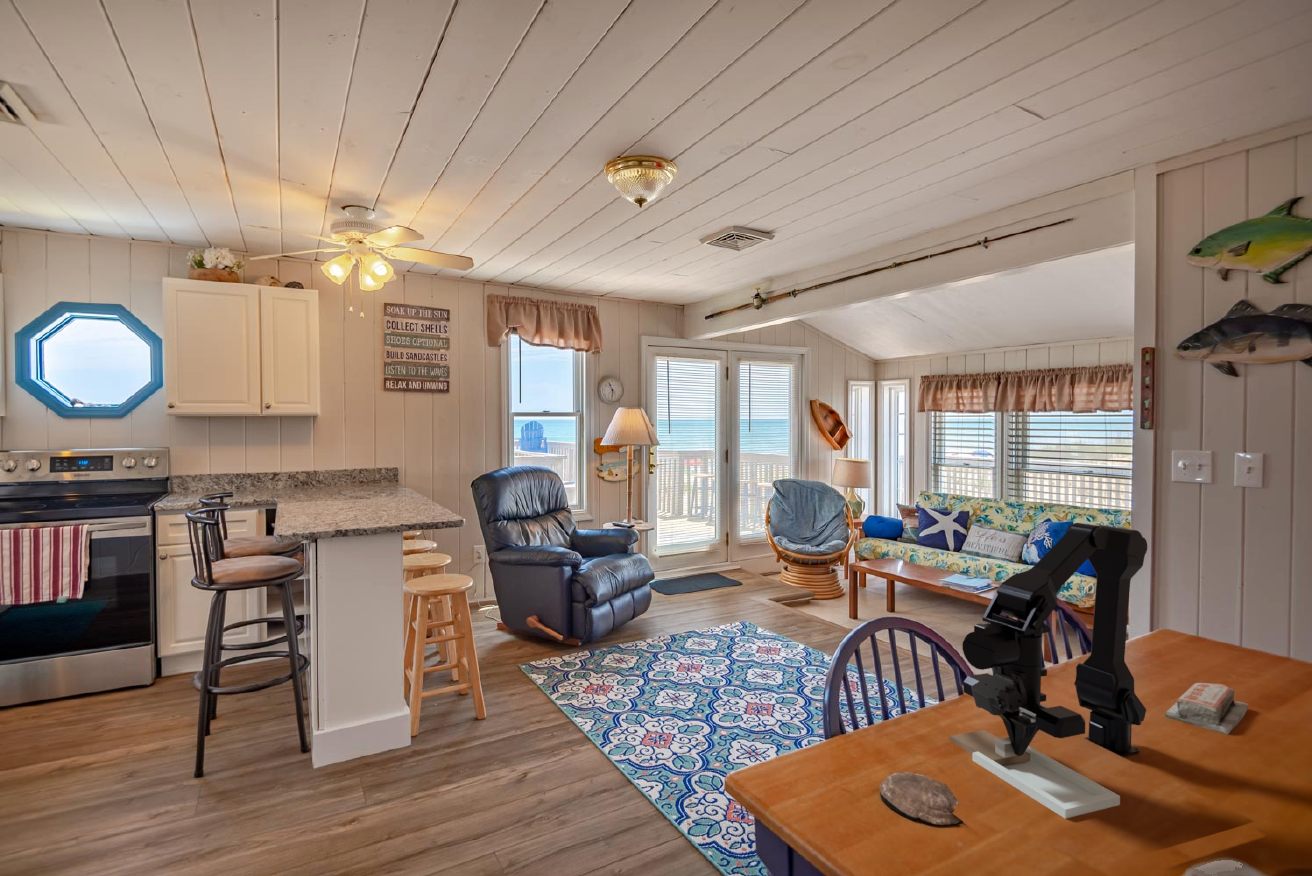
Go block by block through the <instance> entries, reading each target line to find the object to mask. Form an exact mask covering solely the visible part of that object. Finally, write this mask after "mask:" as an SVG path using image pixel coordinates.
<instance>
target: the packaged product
mask: <svg viewBox="0 0 1312 876" xmlns="http://www.w3.org/2000/svg"><path fill="white" fill-rule="evenodd" d="M1234 689H1235V688H1234ZM1234 689H1233V688H1231V687H1229V686H1227V685H1226V684H1221V683H1210V682H1209V683H1208V682H1195V683H1193V684H1192V685H1191V686H1190V687H1189V688H1188V689H1186V691H1185V692H1183V694H1182V695H1180V696H1179V697H1178V698H1177V699H1176V702H1175V703H1174V704H1173V705H1171V707H1170V708H1169V709H1168V710H1167V711H1166V712H1165V713H1164V716H1165V718H1169V719H1172V720H1176V721H1179V722H1182V723H1186V724H1189V725H1193V726H1196V727H1200V728H1203V729H1207V730H1210V731H1214V732H1217V733H1220V734H1224V735H1227V734H1228V735H1230V733H1231V732H1232V730H1233V729H1235V728H1236V727H1237V725H1238V724H1239V723H1240V722H1241V721H1242V719H1243V718H1244V717H1245V715H1246V713H1247V711H1248V708H1249V707H1248V706H1249V703H1246V702H1242V701H1235V700H1234V697H1235V690H1234Z"/></svg>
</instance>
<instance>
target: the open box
mask: <svg viewBox="0 0 1312 876" xmlns="http://www.w3.org/2000/svg"><path fill="white" fill-rule="evenodd" d="M1026 752H1028V753H1030V761H1027V762H1021V763H1016V764H1010V765H1005V766H1001V765H1000V764H998V763H996V762H995V761H993V760H992V759H990V758H988V757H987V756H985V755H983V754H982V753H980V752H978V751H977V752H973V753H972V762H974V763H975V764H977V765H978V766H980V767H982V768H983V769H985V770H986V771H988V772H990V773H992V774H993V775H995V776H996V777H998V778H1000V779H1001V780H1002V781H1004V782H1006V783H1008V784H1009V785H1010V786H1012V787H1014V788H1015V789H1017V790H1018V791H1020V792H1022V793H1023V794H1025V795H1027V796H1028V797H1030V798H1031V799H1033V800H1035V802H1037V803H1039V804H1041V805H1043V806H1045V807H1046V808H1047V809H1049V810H1050V811H1052V812H1054V813H1055V814H1057V815H1058V816H1060V817H1062V818H1063V819H1064V820H1066V819H1071V818H1075V817H1077V816H1082V815H1086V814H1090V813H1094V812H1097V811H1101V810H1105V809H1110V808H1113V807H1117V806H1120V805H1121V795H1119V794H1117V793H1116V792H1113V791H1112V790H1110V789H1108V788H1106V787H1104V786H1102V785H1101V784H1099V783H1097V782H1095V781H1093V780H1091V779H1089V778H1088V777H1086V776H1084V775H1083V774H1081V773H1079V772H1077V771H1075V770H1073V769H1071V768H1070V767H1067V766H1066V765H1064V764H1062V763H1061V762H1059V761H1057V760H1055V759H1053V758H1051V757H1049V756H1048V755H1046V754H1044V753H1042V752H1040V751H1038V749H1037V750H1036V749H1035V748H1034V747H1032V746H1030V745H1029V746H1028V747H1027V749H1026Z"/></svg>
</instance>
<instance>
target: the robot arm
mask: <svg viewBox="0 0 1312 876" xmlns="http://www.w3.org/2000/svg"><path fill="white" fill-rule="evenodd" d="M1147 552H1148V543H1147V539H1146V538H1145V537H1144V536H1143V535H1142V533H1141V532H1140V531H1139V530H1136V529H1130V528H1126V527H1125V528H1123V527H1119V526H1118V527H1116V526H1112V525H1111V526H1110V525H1104V524H1098V525H1095V524H1089V523H1081V522H1074V523H1071V524H1070V525H1068V527H1067V529H1066V533H1065V534H1064V535H1062V537H1060V539H1059V540H1058V541H1057V542H1056V543H1055V544H1054V545H1053V546H1052V547H1051V548H1050V549H1049V550H1048V551H1047V552H1046V553H1045V554H1044V555H1043V557H1041V558H1040V559H1039V560H1038V562H1036V564H1034V565H1033V566H1032V567H1031V568H1029V569H1028V570H1025V571H1021V572H1018V573H1014V574H1013V575H1011V576H1010V577H1008V578H1007V579H1006V580H1004V581H1003V582H1002V583H1000V585H999V586H998V587H997V588H996V589H997V590H996V592H995V594H994V595H993V597H992V599H991V601H990V603H989V605H988V607H987V608H986V610H985V613H984V614H983V616H982V618H981V619H982V621H983V622H985V623H975V624H974V626H973V631H972V632H969V633H968V634H966V636H965V638H964V640H963V641H962V645H961V646H962V652H963V655H964V658H965V659H966V660H967V662H968V663H969V664H970V665H971V666H972V667H974V668H975V669H976V670H977V669H978V670H982V671H984V670H989V669H993V673H992V674H990V673H988V672H987V673H980V674H972V675H968V676H966V678H964V679H965V680H964V681H963V690H962V691H963V693H965V694H966V695H969V696H970V697H973V699H974V704H975V707H977V708H979V709H983V710H984V711H986V712H988V713H989V714H990V715H993V716H999V717H1000V719H1001V720H1002V721H1003V724H1004V727H1005V729H1006V732H1007V736H1008V737H1009V739H1010V742H1011V745H1012V748H1013V751H1014V753H1015V754H1016V755H1017V756H1022V755H1023V754H1024V752H1025V751H1026V749H1027V747H1028V746H1030V744H1031V742H1032V741H1033V740H1034V737H1035V735H1037V733H1038V732H1039V731H1041V732H1043V733H1046V734H1047V735H1049V736H1051V737H1054V738H1057V739H1064V738H1069V737H1074V736H1079V735H1085V734H1086V720H1085V718H1084V716H1083V715H1082V714H1080V713H1078V712H1076V711H1074V710H1071V709H1070V708H1067V707H1064V706H1062V705H1055V706H1049V707H1048V706H1046V705H1044V704H1041V703H1043V702H1047V694H1045V693H1043V692H1042V691H1041V690H1042V688H1041V687H1042V683H1041V682H1042V677H1047V675H1048V669H1046V668H1044V667H1042V657H1043V653H1042V652H1043V651H1042V650H1043V648H1042V646H1043V634H1046V633H1050V632H1051V627H1050V626H1049V625H1047V624H1046V623H1045V622H1046V621H1047V619H1048V618H1049V617H1050V615H1051V614H1052V612H1053V611H1054V609H1055V608H1056V607H1057V604H1058V595H1057V593H1058V592H1059V591H1060V590H1061V588H1062V587H1063V586H1064V584H1066V583H1067V581H1068V580H1070V579H1071V577H1072V576H1073V575H1074V574H1075V573H1076V572H1077V571H1078V570H1079V569H1080V568H1081V566H1083V565H1084V564H1085V563H1086V562H1087V560H1088V562H1089V564H1090V565H1091V567H1092V569H1093V571H1094V572H1095V574H1096V580H1095V581H1096V584H1095V596H1094V609H1093V623H1092V636H1091V647H1090V655H1089V656H1088V657H1087V658H1086V659H1085V660H1084V661H1083V662H1082V663H1080V662H1078V664H1077V665H1076V667H1075V671H1076V674H1075V680H1074V683H1073V685H1074V686H1075V691H1076V696H1077V699H1078V704H1079V707H1081V708H1084V709H1087V710H1090V711H1089V721H1088V736H1087V737H1084V738H1083V739H1084V740H1086V741H1088V742H1091V743H1093V744H1095V745H1096V746H1099V747H1101V748H1103V749H1105V750H1107V751H1109V752H1111V753H1113V754H1115V755H1117V756H1119V757H1121V758H1122V757H1128V756H1131V755H1136V754H1140V749H1139V748H1137V747H1135V746H1133V745H1132V728H1133V727H1132V725H1134V726H1141V725H1142V722H1144V721H1145V718H1146V714H1147V708H1146V707H1145V706H1144V704H1143V703H1142V701H1141V700H1140V699H1139V697H1138V696H1137V694H1136V692H1135V678H1134V676H1133V674H1132V673H1131V670H1130V668H1129V667H1128V665H1127V664H1126V661H1125V658H1126V657H1125V654H1126V644H1127V643H1126V642H1127V628H1128V619H1129V618H1128V617H1129V616H1128V615H1129V614H1128V613H1129V603H1130V592H1131V580H1132V578H1133V577H1134V576H1135V575H1137V573H1138V572H1139V570H1141V569H1142V567H1143V566H1144V560H1145V555H1146V554H1147ZM1002 614H1003V615H1002ZM1011 617H1012V618H1011ZM1015 618H1016V619H1015ZM1018 619H1019V620H1018Z"/></svg>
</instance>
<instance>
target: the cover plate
mask: <svg viewBox="0 0 1312 876" xmlns="http://www.w3.org/2000/svg"><path fill="white" fill-rule="evenodd" d="M949 742H952V743H953V744H955V745H956V746H957V747H959V748H960V749H962V750H964V751H965V752H967V753H968V754H969V755H972V753H973V752H977V751H978V752H980V753H982V754H983V755H985V756H987V757H988V758H990V759H992V760H993V761H995V762H996V763H998V764H1000V765H1001V766H1005V765H1010V764H1016V763H1021V762H1027V761H1030V753H1028V752H1026V751H1025V752H1024V754H1023V755H1022V756H1017V755H1016V754H1015V753H1014V751H1013V748H1012V745H1011V742H1010V739H1009V736H1008V737H1003V738H1000V737H999V736H997V735H994V734H992V733H990V732H988V731H987V730H984V729H983V730H977V731H972V732H964V733H960V734H951V735H949Z"/></svg>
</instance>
